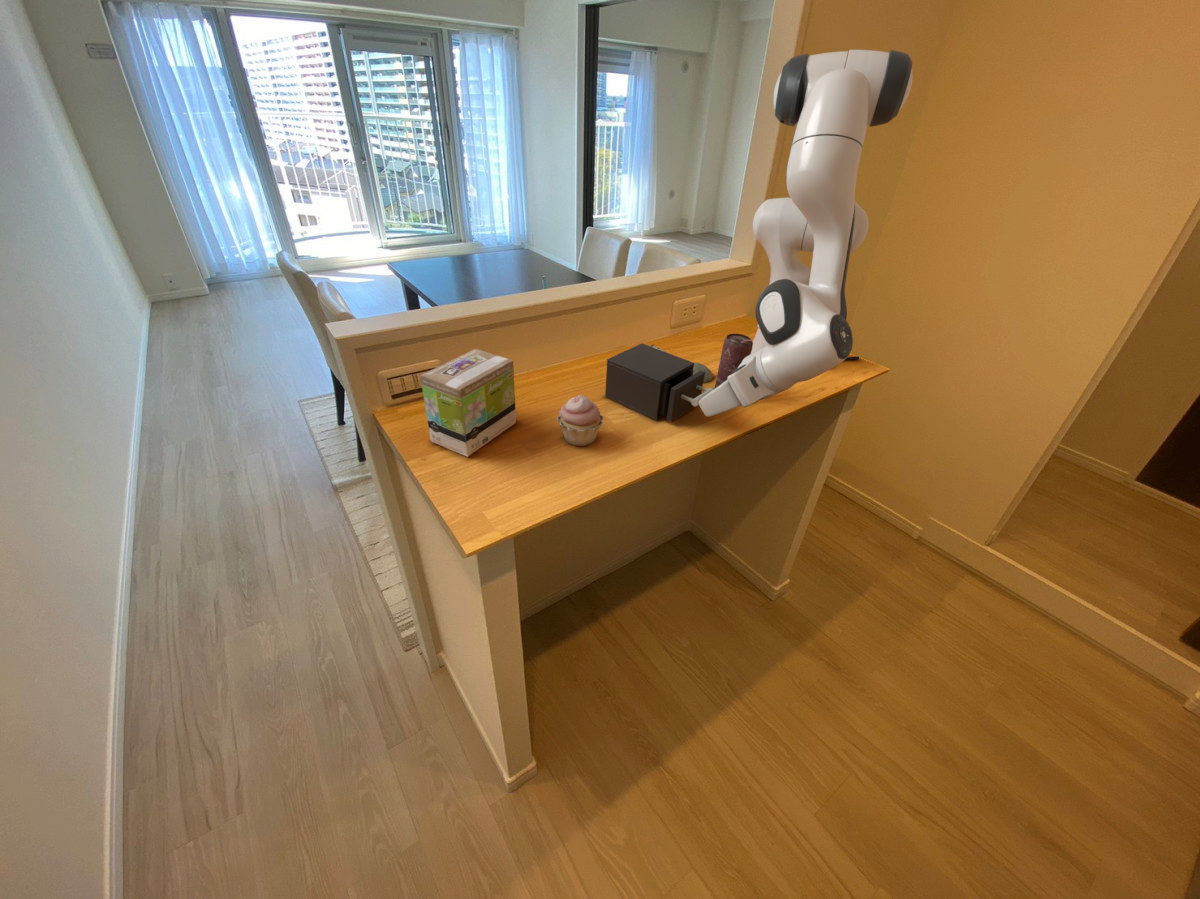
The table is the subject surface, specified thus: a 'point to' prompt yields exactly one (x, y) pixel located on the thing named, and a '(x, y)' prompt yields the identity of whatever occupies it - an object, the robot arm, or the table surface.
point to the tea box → (469, 400)
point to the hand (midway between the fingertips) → (709, 401)
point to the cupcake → (580, 421)
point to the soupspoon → (697, 368)
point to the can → (732, 355)
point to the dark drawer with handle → (682, 394)
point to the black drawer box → (642, 378)
